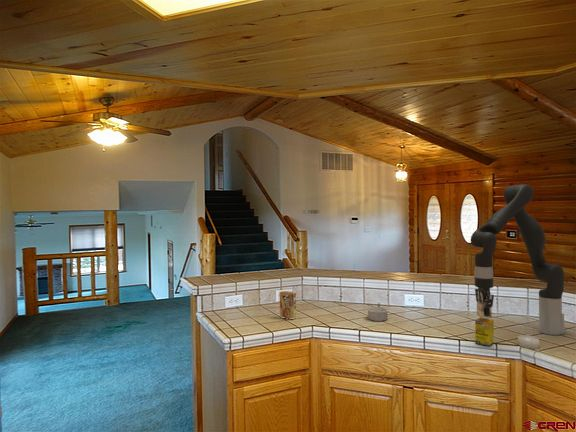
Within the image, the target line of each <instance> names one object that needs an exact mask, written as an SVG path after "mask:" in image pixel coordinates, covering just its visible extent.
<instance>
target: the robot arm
mask: <svg viewBox="0 0 576 432" xmlns="http://www.w3.org/2000/svg"><path fill="white" fill-rule="evenodd" d="M534 192H535V191H534V189H533V187H532V186H531V185H529V184H527V183H526V184H525V183H524V184H523V183H522V184H515V185H509V186H507V187H505V188H504V190H503V198H504V200H505V203H506V205H505V206H503V207H501V208H500V209H498V210H496V211H495V212H494V213H493V214H492V215H490V218H489V219H488V220H487V221H486V222H485V223H484V224H482V225H481V226H480V227H479V228H477V229H476V230H475V231H474V232H473V233H472V234H471V236H470V243H471V245H472V246H473V247H475V248H482V251H481V252H477V253H476V254H475V257H474V287H475V289H474V293H475V300H476V301H475V302H476V303H477V302H483V304H484V316H490V307H491V308H493V306H494V300H495V299H494V298H495V295H494V294H491V289H492V288H494V269H493V258H494V253H495V250H496V248H497V247H496V246H497V237H496V235H499V234H500V233H501V232H502V231H503V229H504V228H505V227H506V225H507V224H508V223H509V222H510V221H511V219H513V218H514V221H515V222H516V225H517V228H518V230H519V232H520V235H521V236H520V237H521V238H522V241H523V243H524V246H525V248H526V251H527V253H528V256H529V259H530V263H531V266H532V270H533V274H534V276H535V278H536V280H538V281H540V282H543V283H546V287H545V288H543V289H539V290H538V330H539V332H540V333H542V334H544V335H545V334H546V335H551V336H561V335H565V314H564V313H563V297H562V296H563V293H564V291H565V290H564V287H565V273H564V272H565V271H564V269H563V267H562V266H561V265H558V264H553V263H548V262H547V260H546V258H545V255H544V249H545V245H546V241H547V239H546V238H547V237H546V235H545V233H544V229H543V227H542V224H540V223H539V221H537V220H536V219H535V218H534V217H533V216H532V215H530V214H529V213H528V212H527V210H526V209H525V207H526V206H527V205H528V204H530V202H531V201H532V200H533V199H534V194H535V193H534Z"/></svg>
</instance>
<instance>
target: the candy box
mask: <svg viewBox="0 0 576 432" xmlns="http://www.w3.org/2000/svg"><path fill="white" fill-rule="evenodd" d="M297 313H298V312H297V291H289V290H288V291H287V290H281V291H279V318H280V317H285V318H295V317H297Z"/></svg>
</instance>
